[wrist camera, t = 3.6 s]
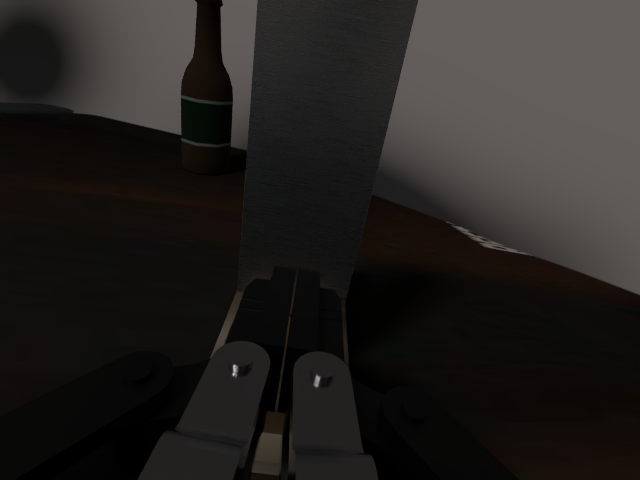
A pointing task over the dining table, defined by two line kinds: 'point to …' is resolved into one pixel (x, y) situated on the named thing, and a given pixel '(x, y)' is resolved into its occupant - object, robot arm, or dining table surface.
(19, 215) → the dining table surface
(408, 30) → the grey l-shaped bracket
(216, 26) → the beer bottle
